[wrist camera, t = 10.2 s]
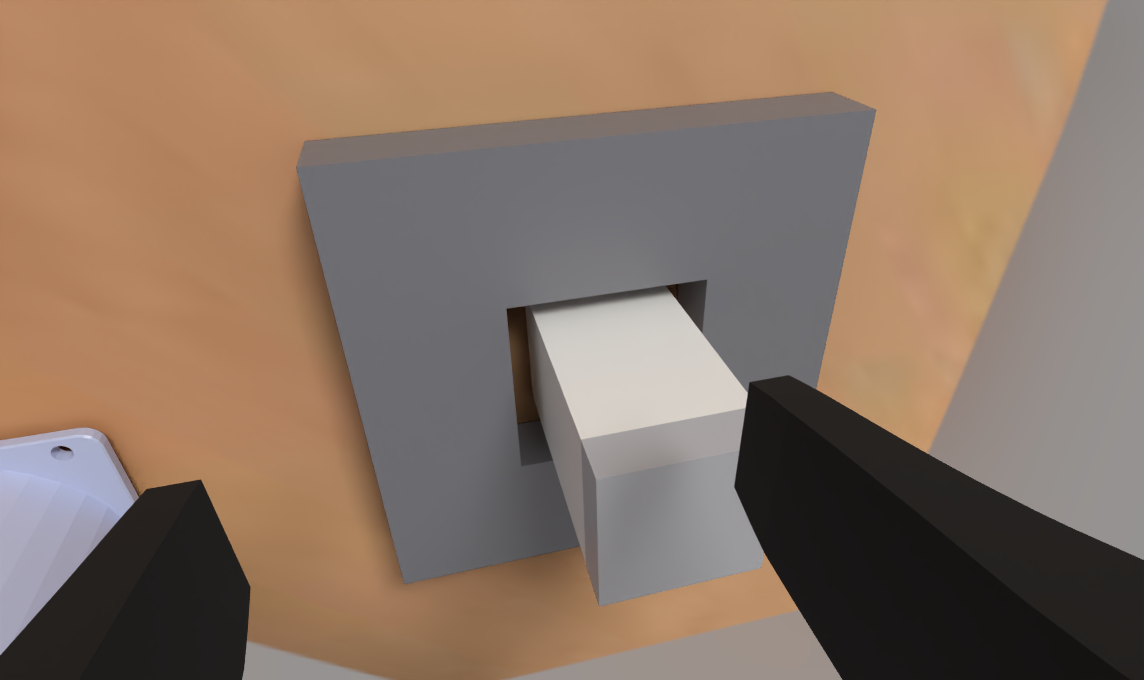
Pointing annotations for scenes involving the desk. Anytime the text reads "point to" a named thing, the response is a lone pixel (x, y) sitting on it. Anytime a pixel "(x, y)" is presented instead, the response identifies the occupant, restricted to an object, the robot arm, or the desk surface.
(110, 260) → the desk surface
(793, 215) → the socket plate
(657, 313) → the plug
